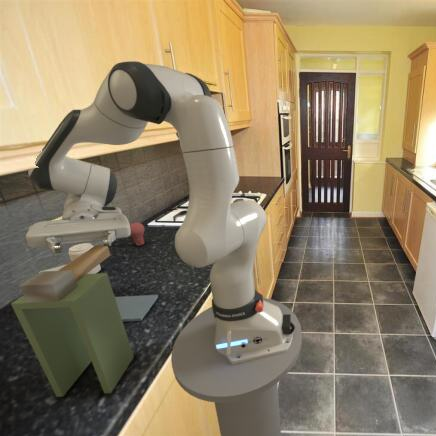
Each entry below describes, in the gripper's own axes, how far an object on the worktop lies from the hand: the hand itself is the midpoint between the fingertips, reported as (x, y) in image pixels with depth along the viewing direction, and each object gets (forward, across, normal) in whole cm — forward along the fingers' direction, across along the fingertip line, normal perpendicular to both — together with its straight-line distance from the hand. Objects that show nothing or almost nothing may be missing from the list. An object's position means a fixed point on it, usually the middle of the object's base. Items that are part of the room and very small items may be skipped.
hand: (83, 247), depth 64 cm
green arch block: (+14, -1, +29) cm, 32 cm away
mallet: (+5, -1, +4) cm, 7 cm away
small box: (-26, -9, +38) cm, 47 cm away
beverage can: (-46, -4, +41) cm, 62 cm away
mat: (-11, +7, +33) cm, 35 cm away
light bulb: (-63, +16, +42) cm, 77 cm away
